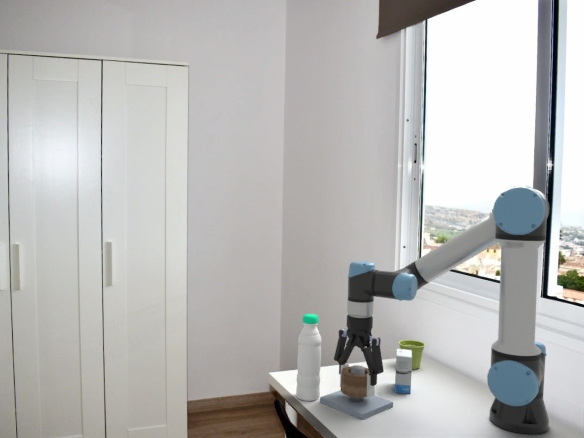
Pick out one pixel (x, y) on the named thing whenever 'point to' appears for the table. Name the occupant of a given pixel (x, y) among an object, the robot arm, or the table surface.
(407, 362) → the ink box
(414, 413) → the table surface
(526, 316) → the robot arm
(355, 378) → the collar
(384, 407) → the stand
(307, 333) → the water bottle
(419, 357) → the plant pot
